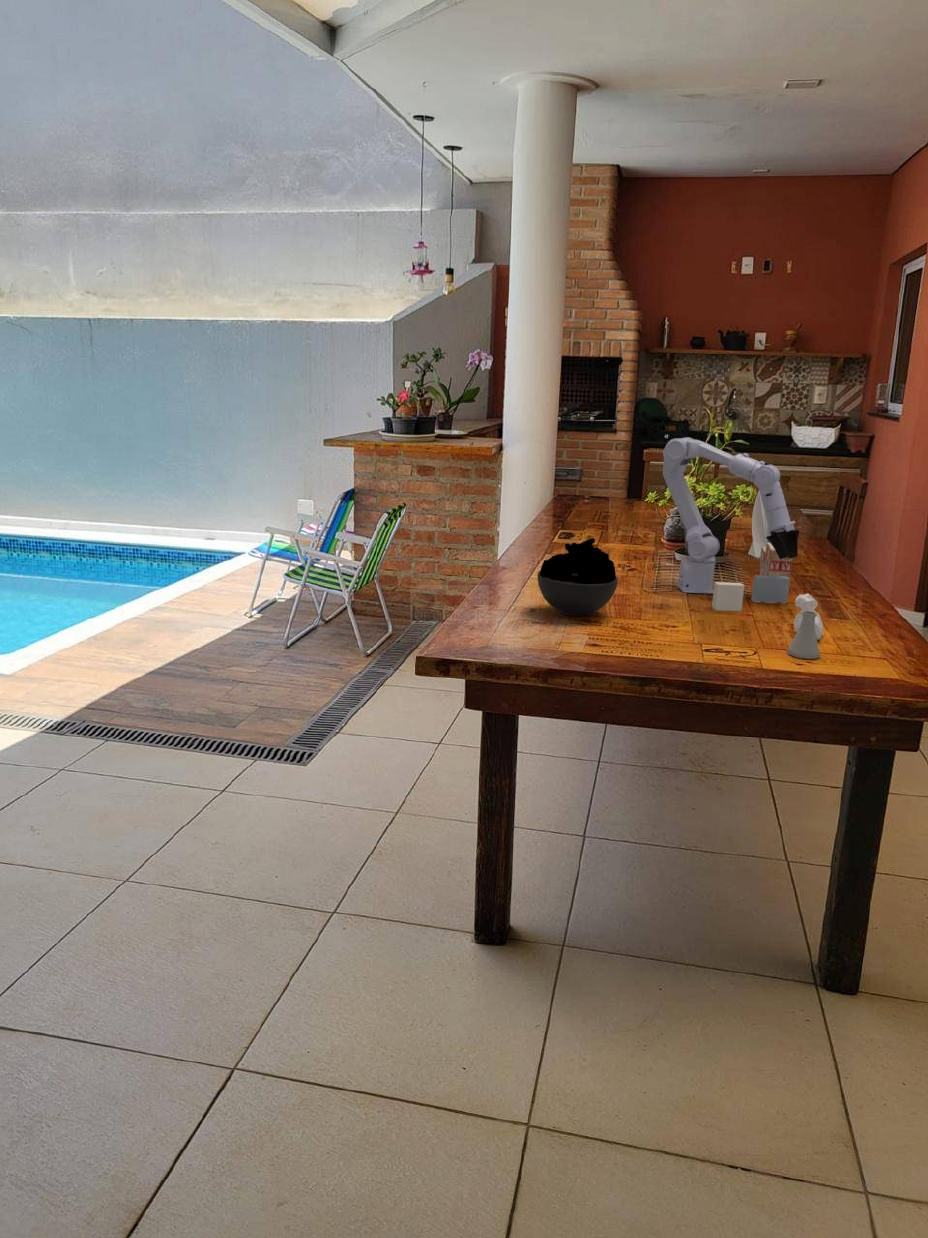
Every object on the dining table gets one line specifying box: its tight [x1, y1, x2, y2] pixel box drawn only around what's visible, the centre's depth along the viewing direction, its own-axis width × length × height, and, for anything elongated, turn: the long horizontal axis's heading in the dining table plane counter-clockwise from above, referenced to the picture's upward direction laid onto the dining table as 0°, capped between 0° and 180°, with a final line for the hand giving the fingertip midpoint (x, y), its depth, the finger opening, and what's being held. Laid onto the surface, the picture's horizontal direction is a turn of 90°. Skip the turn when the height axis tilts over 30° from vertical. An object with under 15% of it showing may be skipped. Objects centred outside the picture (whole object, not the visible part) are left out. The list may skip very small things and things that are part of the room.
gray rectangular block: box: [750, 574, 791, 604], centre depth 258 cm, size 9×3×7 cm, turn 91°
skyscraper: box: [747, 490, 771, 560], centre depth 322 cm, size 8×8×28 cm
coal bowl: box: [537, 537, 619, 617], centre depth 233 cm, size 20×20×19 cm
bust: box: [793, 593, 825, 641], centre depth 225 cm, size 12×8×11 cm
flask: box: [786, 611, 821, 660], centre depth 209 cm, size 7×7×10 cm
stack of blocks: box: [758, 542, 793, 579], centre depth 281 cm, size 21×6×12 cm, turn 169°
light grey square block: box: [711, 581, 745, 612], centre depth 248 cm, size 7×3×7 cm, turn 91°
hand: (788, 557), depth 253 cm, fingers open, 7 cm apart
